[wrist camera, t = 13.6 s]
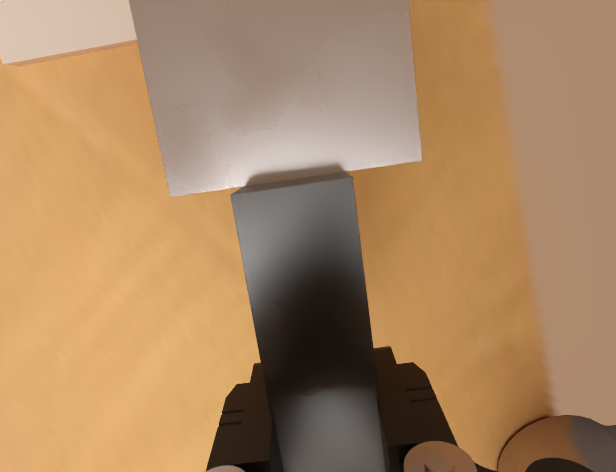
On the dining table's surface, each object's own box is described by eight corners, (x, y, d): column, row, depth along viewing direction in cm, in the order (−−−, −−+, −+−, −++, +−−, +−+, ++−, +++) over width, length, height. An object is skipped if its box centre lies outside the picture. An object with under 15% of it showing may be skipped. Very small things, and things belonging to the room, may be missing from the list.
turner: (114, -157, 10) (28, -286, 7) (376, -204, 10) (405, -359, 7) (270, 608, 14) (259, 728, 11) (451, 589, 14) (487, 706, 11)
